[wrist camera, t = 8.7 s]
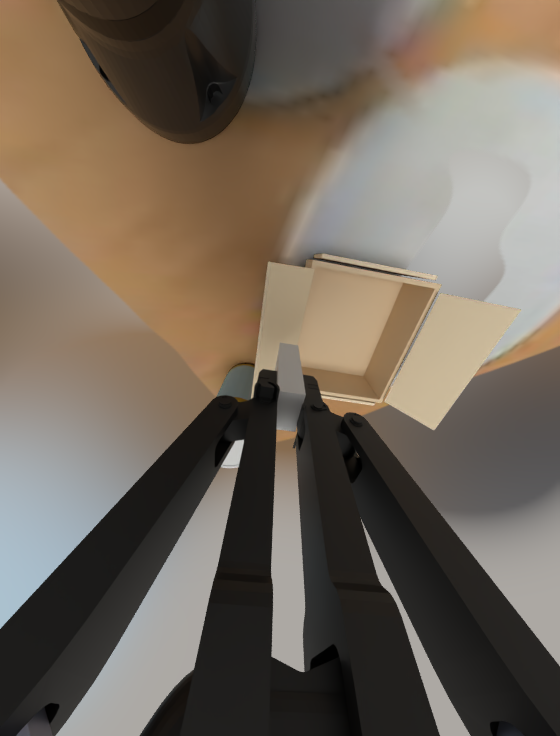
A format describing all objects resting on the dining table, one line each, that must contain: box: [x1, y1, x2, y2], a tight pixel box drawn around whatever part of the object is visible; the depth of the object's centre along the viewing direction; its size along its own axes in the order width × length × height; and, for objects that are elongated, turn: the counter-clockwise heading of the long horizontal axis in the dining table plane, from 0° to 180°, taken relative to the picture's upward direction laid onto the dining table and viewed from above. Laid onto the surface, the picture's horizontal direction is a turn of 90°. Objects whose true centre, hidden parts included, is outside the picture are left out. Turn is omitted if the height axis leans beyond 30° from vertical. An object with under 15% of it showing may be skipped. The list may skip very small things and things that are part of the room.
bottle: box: [217, 364, 255, 468], centre depth 29 cm, size 7×7×15 cm
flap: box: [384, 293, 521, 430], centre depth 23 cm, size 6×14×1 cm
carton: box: [298, 253, 441, 406], centre depth 28 cm, size 17×14×7 cm
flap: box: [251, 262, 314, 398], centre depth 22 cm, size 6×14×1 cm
